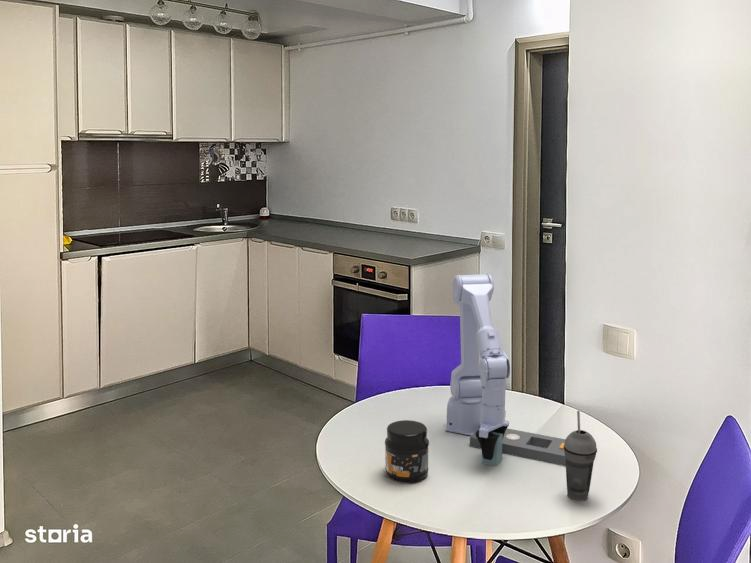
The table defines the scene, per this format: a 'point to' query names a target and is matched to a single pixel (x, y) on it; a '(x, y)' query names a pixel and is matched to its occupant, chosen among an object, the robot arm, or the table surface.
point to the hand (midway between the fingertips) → (491, 454)
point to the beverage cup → (579, 462)
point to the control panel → (521, 446)
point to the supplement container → (406, 451)
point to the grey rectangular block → (495, 452)
